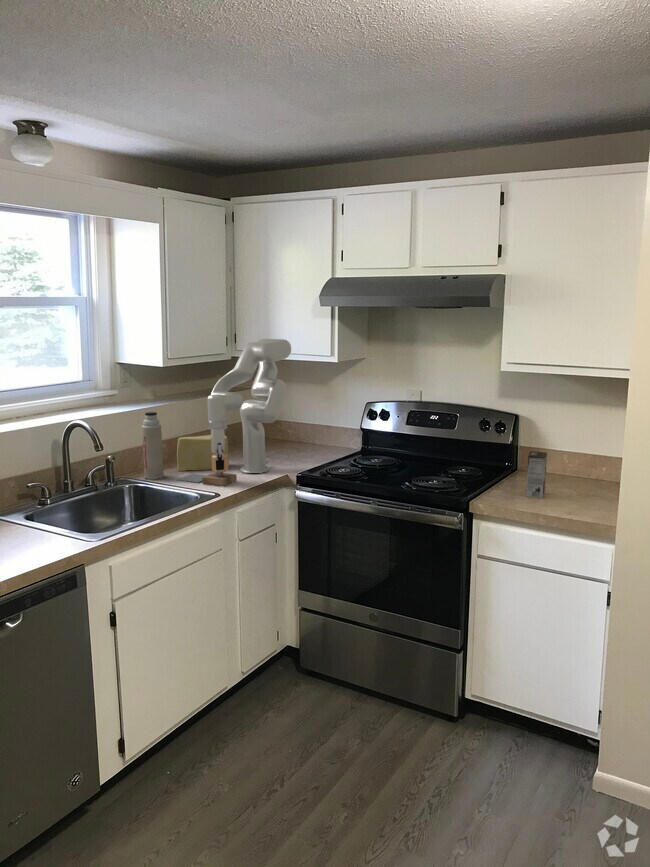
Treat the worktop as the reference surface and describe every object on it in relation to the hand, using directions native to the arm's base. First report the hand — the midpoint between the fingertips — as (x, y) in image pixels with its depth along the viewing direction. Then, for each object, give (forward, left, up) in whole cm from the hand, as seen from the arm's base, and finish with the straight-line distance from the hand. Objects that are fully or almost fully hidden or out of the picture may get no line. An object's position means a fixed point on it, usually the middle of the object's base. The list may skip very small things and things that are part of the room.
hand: (219, 467), depth 297 cm
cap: (0, 0, -1) cm, 1 cm away
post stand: (0, 0, -7) cm, 7 cm away
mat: (-1, -13, -7) cm, 15 cm away
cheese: (-17, -21, -7) cm, 28 cm away
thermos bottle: (+4, -31, -7) cm, 32 cm away
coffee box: (-36, +121, -7) cm, 126 cm away
